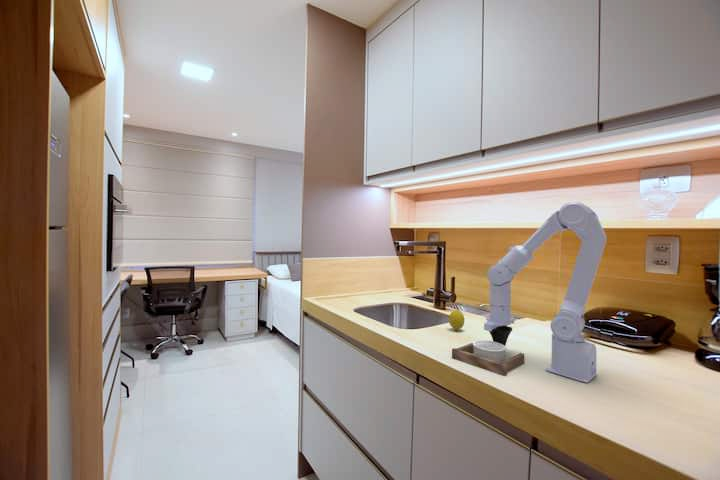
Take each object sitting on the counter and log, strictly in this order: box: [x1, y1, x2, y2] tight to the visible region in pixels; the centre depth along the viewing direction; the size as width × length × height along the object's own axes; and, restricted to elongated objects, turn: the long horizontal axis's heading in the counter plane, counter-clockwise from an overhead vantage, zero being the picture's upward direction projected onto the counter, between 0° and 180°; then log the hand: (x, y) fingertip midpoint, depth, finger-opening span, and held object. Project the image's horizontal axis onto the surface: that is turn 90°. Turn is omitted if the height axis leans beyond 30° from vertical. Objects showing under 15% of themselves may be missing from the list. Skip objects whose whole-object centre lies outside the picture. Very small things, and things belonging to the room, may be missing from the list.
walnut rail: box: [451, 342, 525, 377], centre depth 91 cm, size 16×13×2 cm
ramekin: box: [472, 339, 507, 363], centre depth 91 cm, size 9×9×4 cm
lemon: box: [448, 309, 465, 331], centre depth 121 cm, size 6×6×8 cm
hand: (499, 350), depth 95 cm, fingers closed
